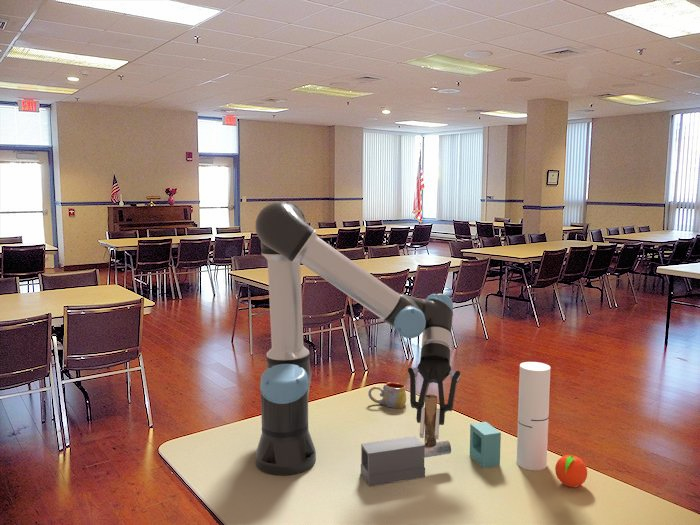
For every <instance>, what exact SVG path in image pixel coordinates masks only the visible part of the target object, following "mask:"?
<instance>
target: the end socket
mask: <svg viewBox="0 0 700 525" xmlns="http://www.w3.org/2000/svg"><path fill="white" fill-rule="evenodd" d="M469 426H470V427H469V428H470V430H469V456H470V457H471V458H472V460H474V461H475V462H477V463H478V465H479V466H481V468H483V469H486V468H494V467H498V466H499V467H500V465H501V445H502V444H501V443H502V442H501V440H502V439H501V438H502V437H501V436H502V434H501V433H502V432H500V431H499V430H498V429H497V428H495V427H494V426H493V425H491V424H490V423H488V422H487V421H481V422H474V423H470V425H469Z"/></svg>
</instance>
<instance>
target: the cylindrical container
mask: <svg viewBox="0 0 700 525" xmlns="http://www.w3.org/2000/svg"><path fill="white" fill-rule="evenodd" d="M518 379H519V380H518V381H519V382H518V383H519V384H518V386H519V387H518V410H517V434H516V435H517V437H516V438H517V439H516V442H517V443H516V464H517V465H518V466H519V467H521V468H522V469H525V470H528V471H536V472H537V471H542V470H545V469H546V468H547V463H548V462H547V461H548V439H549V436H548V435H549V414H550V394H551V393H550V390H551V388H550V385H551V366H550V365H549V364H547V363H544V362H539V361H538V362H537V361H525V362H524V361H523V362H521V363H520V364H519V377H518Z"/></svg>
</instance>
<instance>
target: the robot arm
mask: <svg viewBox="0 0 700 525" xmlns="http://www.w3.org/2000/svg"><path fill="white" fill-rule="evenodd" d="M254 227H255V232H256V235H257V237H258V239H259V241H260V249H261V255H262V257H264V258H265V259H266V260H267V273H268V274H267V275H268V277H267V279H268V295H269V314H270V315H269V317H270V337H271V338H270V339H271V348H270V349H269V350H268V351H267V352H266V369H265V370H264V371H263V372H262V373H261V376H260V381H259V389H260V406H261V408H260V409H261V411H260V412H261V413H260V414H261V415H260V416H261V433H260V438H259V441H258V445H257V448H256V451H255V466H256V467H257V468H258V470H260V471H262V472H263V473H267V474H269V475H277V476H280V475H281V476H287V475H296V474H299V473H302V472H305V471H307V470H308V469H310V468H312V467H313V466H314V465H315V463H316V460H317V455H316V454H317V451H316V448H315V445H314V442H313V438H312V436H311V433H310V431H309V394H310V387H311V382H312V378H313V377H312V376H313V372H312V369H311V362H310V358H311V357H310V356H311V355H310V350H309V349H308V348H307V347H305V345H304V328H303V326H304V324H303V321H304V320H303V304H302V303H303V301H302V300H303V299H302V298H303V297H302V296H303V295H302V279H301V278H302V276H301V273H302V272H301V271H302V270H301V264H302V265H303V266H305V267H306V268H308V269H309V270H311V271H312V272H313V273H314V274H316V275H318V276H319V277H321V278H322V279H324V280H325V281H326V282H328V283H329V284H331V285H332V286H333V287H335V288H337V290H340V292H342V293H344V294H345V295H347V296H348V297H349V298H351V299H352V300H353V301H355V302H357V303H358V304H360V305H361V306H362V307H364V308H365V309H367V310H368V311H370V312H371V313H372V314H374V315H375V316H377V317H378V318H380V319H381V320H382V321H384V322H385V323H387V324H388V325H389V326H391V327H392V328H394V329H395V331H396V332H397V333H398V334H399V335H400V336H401V337H403V338H406V339H414V338H417V337H419V336H420V335H421V334H422V337H421V338H422V339H421V349H420V356H419V357H420V358H419V363H418V364H417V366H416V367H413V368H412V367H408V369H407V371H408V372H407V373H408V377H409V384H410V387H409V389H410V390H409V393H410V396H409V400H410V401H409V402H410V407H411V408H412V409H416V418H415V420H416V422H417V423H418V424H419V438H421V439H425V396H426V395H428V390H429V387H430V384H432V383H433V384H437V389H438V401H439V408H437V410H436V423H435V439H436V440H439V436H440V426H444V425H445V418H446V412H452V411H453V409H454V404H455V397H456V392H457V384H458V383H459V381H460V380H461V371H460V370H453V369H452V366H451V365H450V363H451V348H452V344H451V343H452V329H453V316H454V306H453V305H454V304H453V300H452V299H451V297H450V296H448V295H447V294H443V293H437V294H436V293H432V294H430V295H428V296H427V297H426V298H425V299H424V298H423V299H422V298H418V297H415V296H410V295H408V294H403V293H400V292H397V291H395V290H394V289H393V288H391V287H390V286H388V285H387V284H386V283H384V282H383V281H381V280H380V279H378V278H377V277H376V276H374V275H372V273H370V272H368V271H367V270H365V269H364V268H363V267H361V266H360V265H358V264H357V263H355V262H354V261H353V260H351V259H350V258H348V257H347V256H346V255H344V254H343V253H341V252H340V251H339V250H337V249H335V248H334V247H333V246H332V245H330V244H329V243H327V242H326V241H324V240H323V239H322V238H320V237H319V236H318V235H317V230H316V229H315V228H313V227H312V226H310V225H309V224H308V223H307V220H306V217H305V213H304V212H303V210H302V209H301V208H299V207H298V206H297V205H296V204H295V203H292V202H290V201H282V200H281V201H276V202H273V203H270V204H268V205H265V207H263V208H262V209H261V210H260V211H259V213H258V214H257V216H256V219H255V226H254ZM418 373H419V374H420V376H421V377H422V380H423V381H422V384H421V389H420V393H419V395H418V396H419V397H418V400H417V392H416V391H417V385H416V384H417V381H416V380H417V379H416V378H417V377H418ZM448 376H450V379H451V381H450V387H449V391H448V400H447V403H445V394H444V383H443V382H444V381H445V380H446V379H447V378H448Z"/></svg>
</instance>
